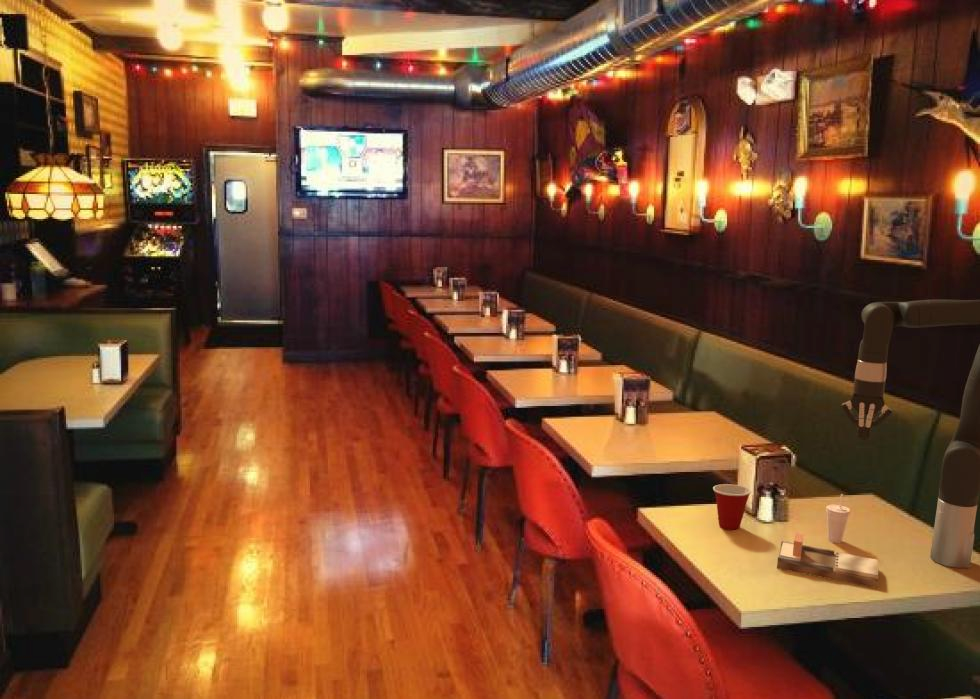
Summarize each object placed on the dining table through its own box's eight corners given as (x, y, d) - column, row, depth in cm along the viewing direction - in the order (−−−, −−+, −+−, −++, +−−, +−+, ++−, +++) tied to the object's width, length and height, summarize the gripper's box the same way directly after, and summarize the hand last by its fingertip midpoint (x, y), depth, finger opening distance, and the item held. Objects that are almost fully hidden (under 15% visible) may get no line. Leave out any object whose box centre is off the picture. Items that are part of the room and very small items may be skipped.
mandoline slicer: (875, 568, 219) (877, 557, 218) (876, 587, 208) (878, 576, 208) (780, 550, 228) (781, 540, 228) (776, 568, 217) (777, 557, 217)
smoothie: (843, 547, 232) (848, 499, 230) (819, 540, 236) (824, 494, 233) (849, 539, 237) (854, 493, 235) (826, 533, 241) (831, 488, 238)
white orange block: (801, 549, 224) (803, 532, 223) (799, 562, 216) (801, 544, 215) (782, 545, 226) (784, 528, 225) (779, 558, 218) (781, 540, 217)
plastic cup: (731, 517, 251) (735, 479, 249) (755, 531, 241) (759, 492, 239) (702, 521, 247) (705, 483, 245) (725, 535, 237) (728, 496, 235)
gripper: (896, 377, 222) (889, 439, 225) (843, 372, 227) (836, 432, 230) (898, 383, 215) (890, 446, 218) (843, 377, 220) (836, 439, 224)
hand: (862, 439), depth 224 cm, fingers closed
